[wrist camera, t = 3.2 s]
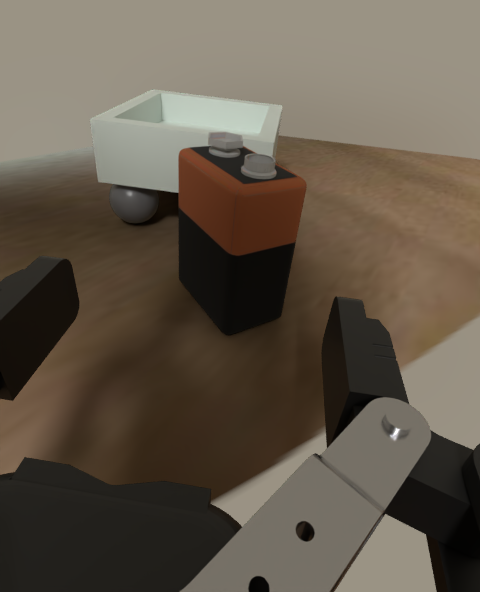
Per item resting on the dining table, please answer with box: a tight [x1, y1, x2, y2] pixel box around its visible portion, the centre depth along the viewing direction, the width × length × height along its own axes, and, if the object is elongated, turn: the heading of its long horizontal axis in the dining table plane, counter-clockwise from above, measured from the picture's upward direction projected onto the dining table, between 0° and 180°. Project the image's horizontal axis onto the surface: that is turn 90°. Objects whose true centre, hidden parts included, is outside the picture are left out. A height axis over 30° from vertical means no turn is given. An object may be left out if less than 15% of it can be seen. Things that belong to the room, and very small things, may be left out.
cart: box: [90, 89, 283, 223], centre depth 35 cm, size 14×13×8 cm
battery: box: [178, 132, 306, 335], centre depth 23 cm, size 4×7×10 cm, turn 32°
